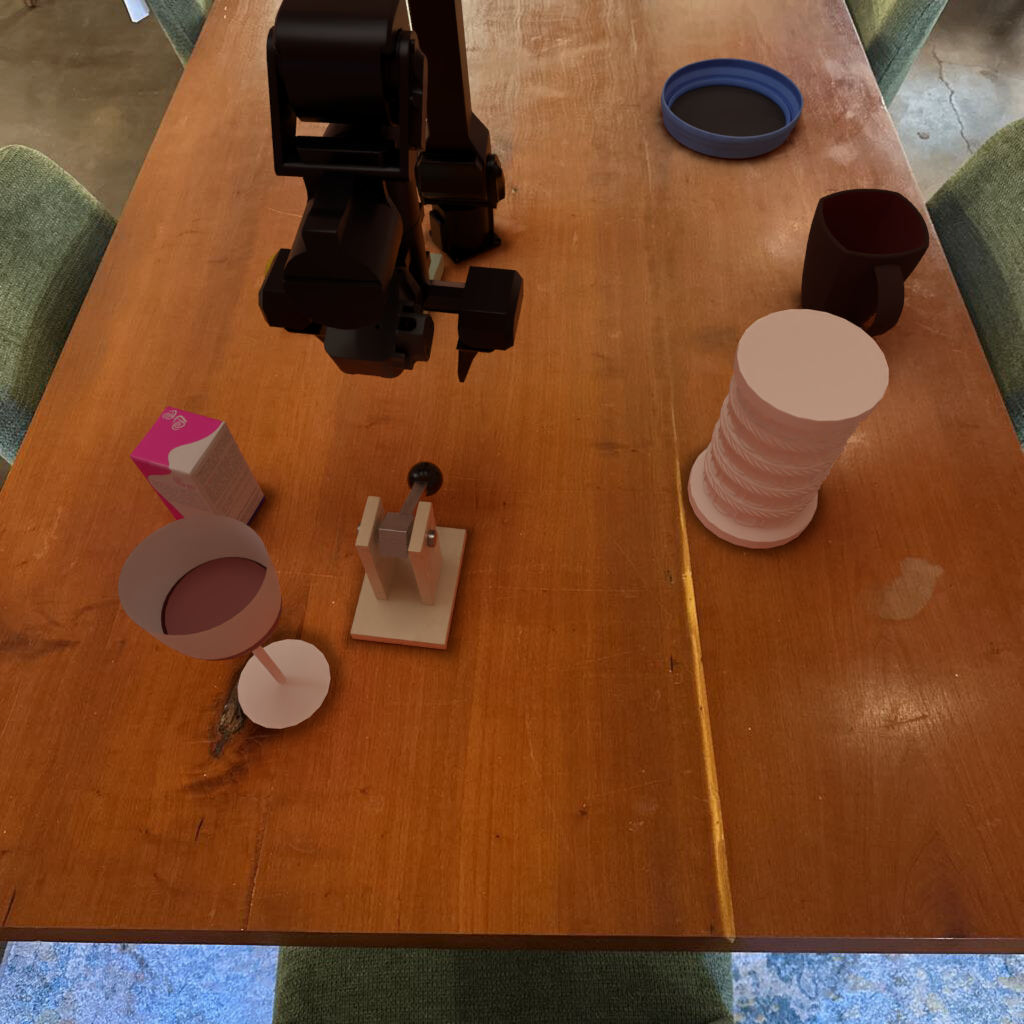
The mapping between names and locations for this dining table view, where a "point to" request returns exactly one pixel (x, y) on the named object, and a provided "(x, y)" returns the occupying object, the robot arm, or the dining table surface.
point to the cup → (862, 256)
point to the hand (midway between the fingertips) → (408, 372)
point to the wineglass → (224, 612)
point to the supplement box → (197, 467)
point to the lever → (408, 510)
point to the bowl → (730, 107)
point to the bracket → (408, 581)
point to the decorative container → (784, 424)
